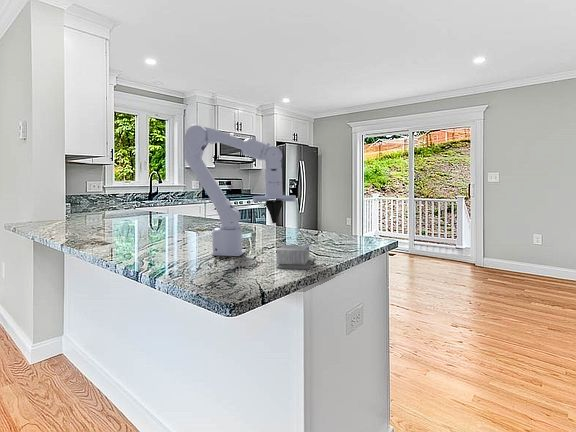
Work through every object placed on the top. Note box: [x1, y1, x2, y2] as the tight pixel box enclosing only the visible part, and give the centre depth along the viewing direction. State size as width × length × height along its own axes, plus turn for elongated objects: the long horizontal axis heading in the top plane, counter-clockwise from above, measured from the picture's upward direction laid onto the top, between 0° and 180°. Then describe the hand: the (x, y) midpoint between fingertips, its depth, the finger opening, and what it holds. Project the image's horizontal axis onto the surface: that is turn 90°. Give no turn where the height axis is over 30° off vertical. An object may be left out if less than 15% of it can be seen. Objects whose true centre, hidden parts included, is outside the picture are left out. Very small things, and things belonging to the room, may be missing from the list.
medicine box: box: [276, 244, 310, 265], centre depth 110 cm, size 8×4×9 cm
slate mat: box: [276, 257, 316, 271], centre depth 110 cm, size 9×14×1 cm, turn 168°
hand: (274, 222), depth 125 cm, fingers closed
